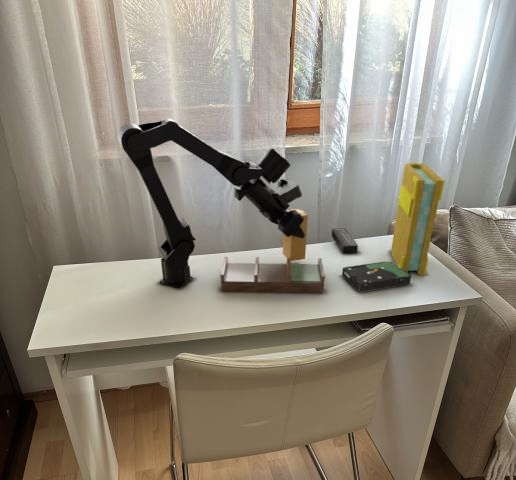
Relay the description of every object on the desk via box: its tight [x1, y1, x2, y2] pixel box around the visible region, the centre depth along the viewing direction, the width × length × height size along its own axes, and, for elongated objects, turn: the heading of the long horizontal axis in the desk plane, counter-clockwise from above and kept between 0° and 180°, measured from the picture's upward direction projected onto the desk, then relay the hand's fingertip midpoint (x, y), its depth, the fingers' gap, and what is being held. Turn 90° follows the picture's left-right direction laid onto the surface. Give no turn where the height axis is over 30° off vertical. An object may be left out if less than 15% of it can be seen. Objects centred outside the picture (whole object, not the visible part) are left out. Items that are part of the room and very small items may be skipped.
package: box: [282, 208, 309, 262], centre depth 135 cm, size 4×6×13 cm
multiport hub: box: [331, 227, 359, 254], centre depth 151 cm, size 4×14×2 cm, turn 6°
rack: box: [220, 256, 326, 294], centre depth 128 cm, size 26×11×5 cm, turn 88°
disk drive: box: [341, 260, 412, 293], centre depth 130 cm, size 10×3×15 cm
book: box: [390, 162, 446, 276], centre depth 134 cm, size 17×7×25 cm, turn 179°
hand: (299, 233), depth 136 cm, fingers closed on package, 5 cm apart
